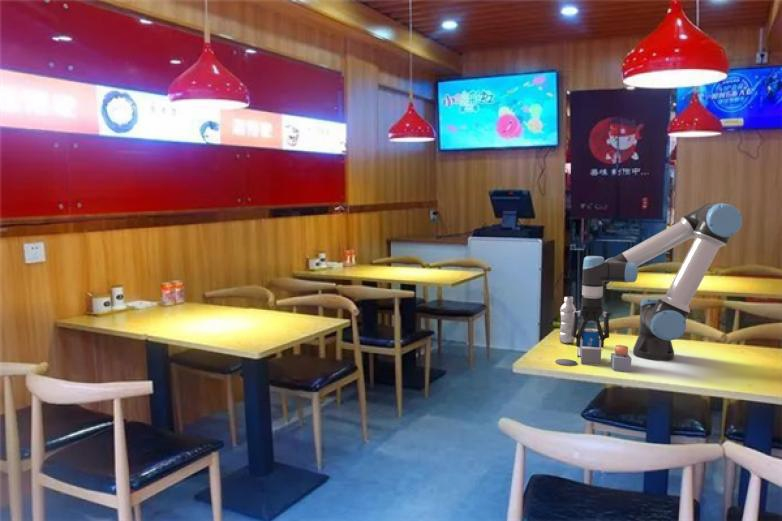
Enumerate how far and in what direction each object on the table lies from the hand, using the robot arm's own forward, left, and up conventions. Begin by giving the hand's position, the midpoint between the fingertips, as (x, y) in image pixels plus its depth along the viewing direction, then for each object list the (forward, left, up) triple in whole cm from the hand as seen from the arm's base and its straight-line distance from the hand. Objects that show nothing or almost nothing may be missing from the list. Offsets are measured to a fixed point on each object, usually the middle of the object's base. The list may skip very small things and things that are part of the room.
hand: (589, 355), depth 236 cm
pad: (+9, +5, -2) cm, 11 cm away
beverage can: (0, 0, -2) cm, 2 cm away
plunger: (-10, +9, -1) cm, 13 cm away
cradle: (0, 0, -2) cm, 2 cm away
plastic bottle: (+5, -27, -2) cm, 28 cm away
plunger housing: (-10, +9, -2) cm, 14 cm away
